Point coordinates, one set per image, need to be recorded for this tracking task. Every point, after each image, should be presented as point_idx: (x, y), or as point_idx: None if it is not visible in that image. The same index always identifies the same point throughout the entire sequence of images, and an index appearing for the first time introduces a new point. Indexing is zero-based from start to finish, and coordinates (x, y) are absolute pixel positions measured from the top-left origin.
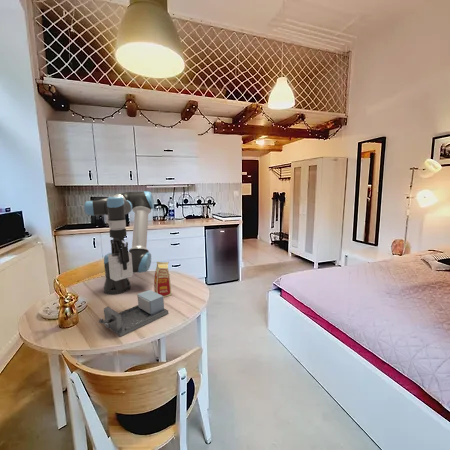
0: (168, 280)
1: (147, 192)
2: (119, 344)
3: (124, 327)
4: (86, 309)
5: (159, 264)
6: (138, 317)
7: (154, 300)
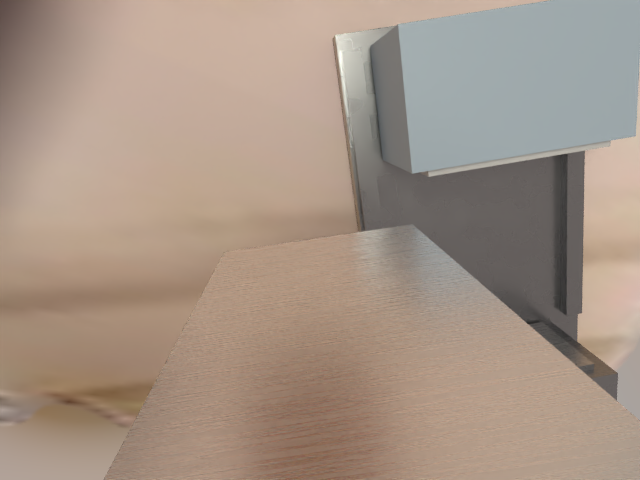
0: None
1: None
2: (618, 351)
3: (542, 308)
4: (119, 409)
5: None
6: (501, 207)
7: (632, 96)
